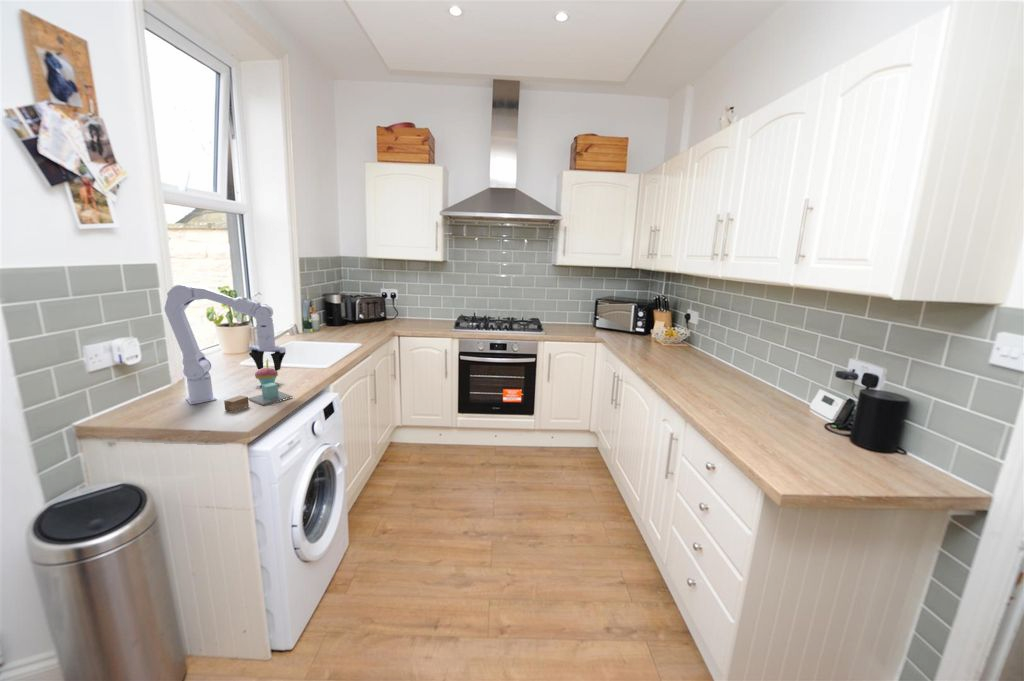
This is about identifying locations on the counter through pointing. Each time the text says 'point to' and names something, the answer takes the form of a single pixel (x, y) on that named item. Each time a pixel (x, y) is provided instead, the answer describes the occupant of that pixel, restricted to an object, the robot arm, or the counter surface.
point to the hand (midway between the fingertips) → (269, 369)
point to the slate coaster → (264, 401)
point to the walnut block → (236, 403)
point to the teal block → (270, 390)
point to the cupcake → (266, 375)
